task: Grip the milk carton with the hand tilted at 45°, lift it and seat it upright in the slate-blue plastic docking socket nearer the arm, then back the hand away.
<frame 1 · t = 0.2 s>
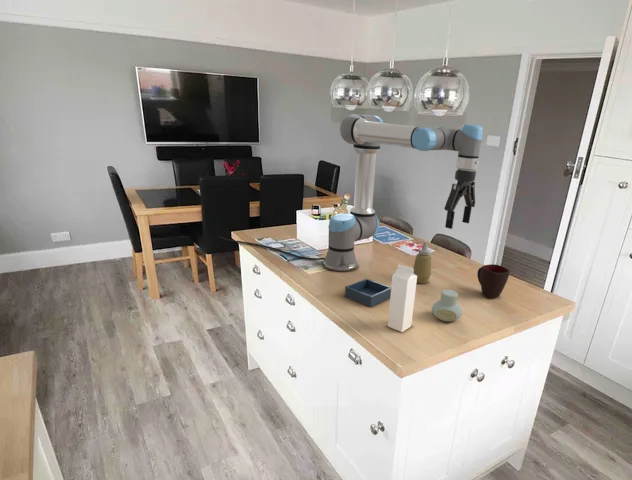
hand: (457, 225, 164), 28 cm above the counter, tool pointing down, fingers open, 13 cm apart
air freshener: (445, 318, 152), on the counter
milk: (399, 326, 144), on the counter
socket: (368, 296, 164), on the counter
squeeze bottle: (420, 281, 183), on the counter
cup: (487, 294, 176), on the counter
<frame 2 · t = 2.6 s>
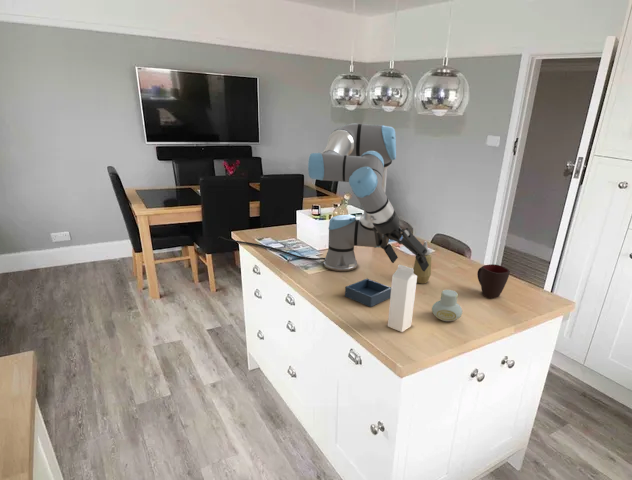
hand: (409, 264, 137), 22 cm above the counter, tool tilted 35°, fingers open, 13 cm apart
nothing on the counter moved.
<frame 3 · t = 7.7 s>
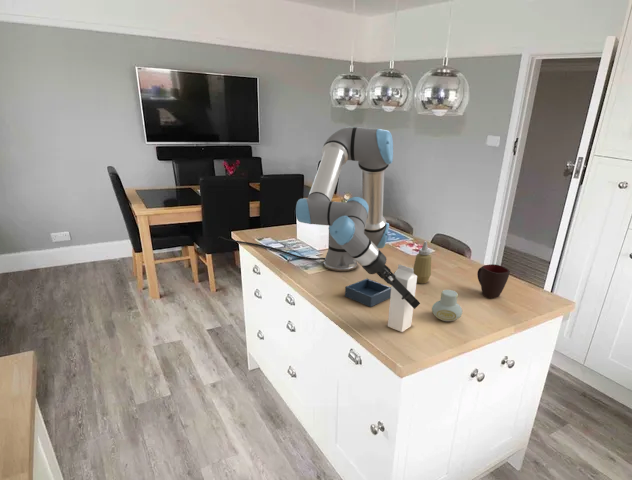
hand: (411, 300, 141), 10 cm above the counter, tool tilted 45°, fingers closed on milk, 8 cm apart
milk: (399, 326, 144), on the counter, touching gripper
everything else where it was.
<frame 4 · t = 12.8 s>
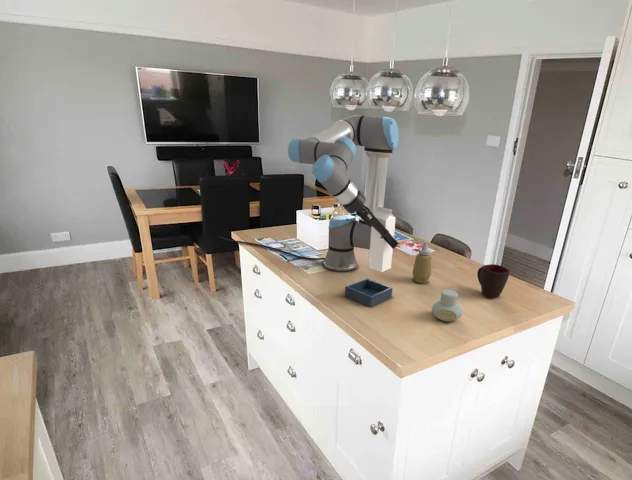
hand: (390, 242, 149), 24 cm above the counter, tool tilted 45°, fingers closed on milk, 8 cm apart
milk: (379, 268, 152), point 15 cm above the counter, touching gripper
everything else where it was.
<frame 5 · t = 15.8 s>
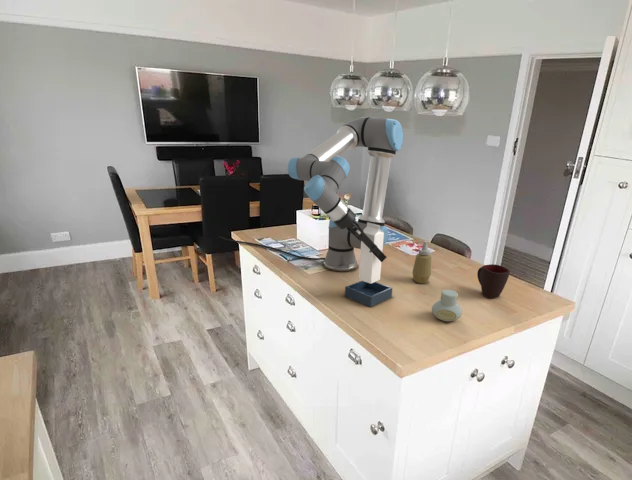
hand: (379, 255, 158), 17 cm above the counter, tool tilted 45°, fingers closed on milk, 8 cm apart
milk: (369, 280, 161), point 7 cm above the counter, touching gripper
everything else where it was.
when the fingers open (10 cm above the counter, at t = 18.1 s): milk stays where it is, resting on socket.
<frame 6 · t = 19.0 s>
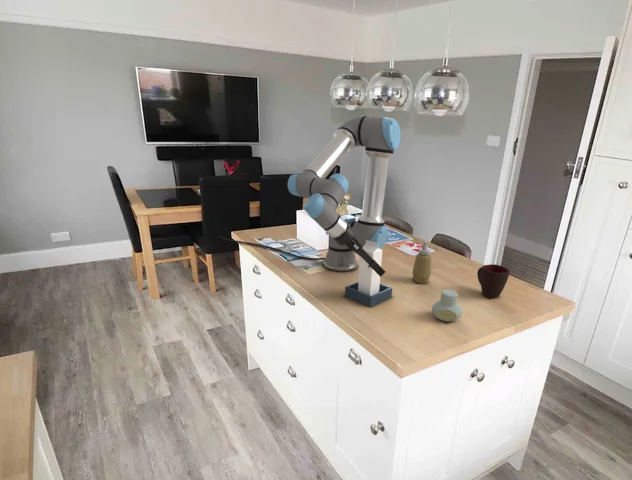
hand: (376, 267, 160), 12 cm above the counter, tool tilted 45°, fingers open, 13 cm apart
milk: (368, 295, 164), resting on socket
everything else where it was.
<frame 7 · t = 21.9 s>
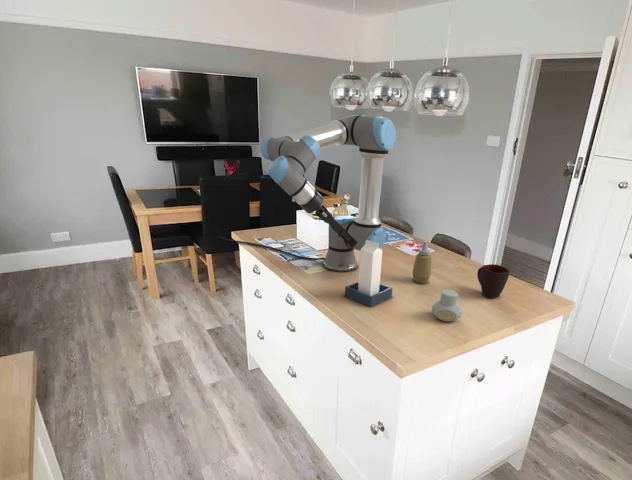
hand: (348, 239, 151), 24 cm above the counter, tool tilted 45°, fingers open, 13 cm apart
nothing on the counter moved.
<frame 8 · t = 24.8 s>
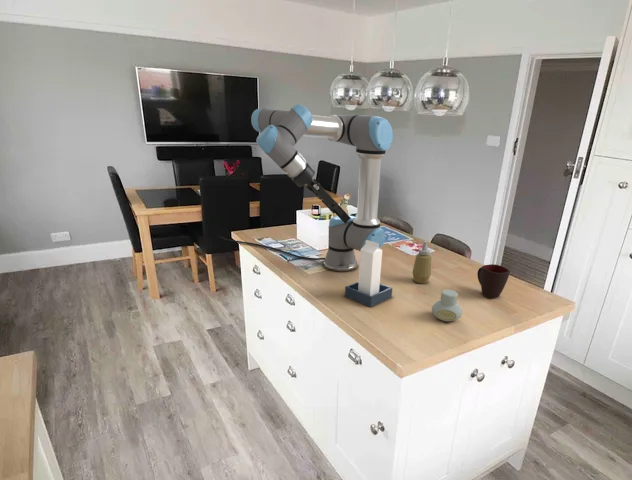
hand: (341, 215, 146), 33 cm above the counter, tool tilted 45°, fingers open, 13 cm apart
nothing on the counter moved.
at the end: milk 0.1 cm off-centre in the socket, point 0.4 cm above the socket's base; milk tilted 0°; the gripper is holding nothing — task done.
